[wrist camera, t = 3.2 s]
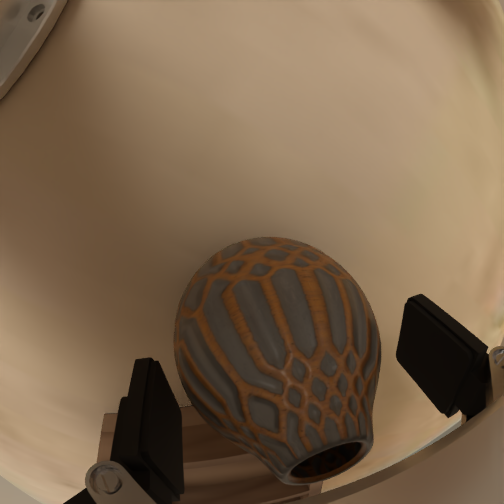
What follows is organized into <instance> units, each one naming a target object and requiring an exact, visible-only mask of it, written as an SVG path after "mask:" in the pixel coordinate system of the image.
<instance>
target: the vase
mask: <svg viewBox="0 0 504 504" xmlns="http://www.w3.org/2000/svg"><path fill="white" fill-rule="evenodd" d="M174 356H175V361H176V366H177V370H178V374H179V377H180V380H181V382H182V385H183V387H184V389H185V391H186V394H187V396H188V398H189V399H190V401H191V403H192V405H193V406H194V408H195V409H196V411H197V412H198V413H199V415H200V416H201V417H202V418H203V419H204V420H205V421H206V422H207V423H208V424H209V425H210V426H211V427H212V428H213V429H214V430H215V431H217V432H218V433H219V434H221V435H222V436H223V437H225V438H226V439H228V440H229V441H231V442H232V443H234V444H235V445H237V446H238V447H240V448H242V449H243V450H245V451H247V452H248V453H250V454H251V455H253V456H255V457H256V458H257V459H258V460H260V461H261V462H262V463H263V464H264V465H265V466H266V467H267V468H268V469H269V470H270V471H271V472H272V473H273V474H274V475H275V476H276V477H277V478H278V479H279V480H280V481H281V482H283V483H285V484H289V485H307V484H313V483H317V482H321V481H324V480H327V479H330V478H332V477H335V476H337V475H339V474H341V473H343V472H345V471H347V470H348V469H350V468H351V467H353V466H354V465H356V464H357V463H358V462H360V461H361V460H362V459H363V458H364V457H365V456H366V455H367V454H368V453H369V451H370V450H371V448H372V446H373V440H374V439H373V423H372V411H373V403H374V399H375V394H376V389H377V384H378V378H379V372H380V364H381V340H380V334H379V330H378V326H377V322H376V319H375V316H374V314H373V311H372V309H371V306H370V304H369V302H368V300H367V298H366V296H365V294H364V293H363V291H362V290H361V288H360V287H359V285H358V284H357V282H356V281H355V280H354V279H353V277H352V276H351V275H350V274H349V273H348V272H347V271H346V270H345V269H344V268H343V267H342V266H341V265H339V264H338V263H337V262H336V261H334V260H333V259H332V258H330V257H329V256H327V255H326V254H324V253H323V252H321V251H320V250H318V249H316V248H314V247H312V246H310V245H307V244H305V243H302V242H298V241H295V240H291V239H286V238H277V237H261V238H253V239H248V240H244V241H241V242H238V243H235V244H233V245H230V246H228V247H226V248H225V249H223V250H221V251H219V252H218V253H216V254H215V255H214V256H212V257H211V258H210V259H209V260H208V261H206V262H205V263H204V264H203V265H202V266H201V268H200V269H199V270H198V271H197V272H196V273H195V275H194V276H193V278H192V279H191V280H190V282H189V284H188V285H187V287H186V289H185V291H184V293H183V296H182V298H181V300H180V303H179V306H178V310H177V315H176V320H175V328H174Z"/></svg>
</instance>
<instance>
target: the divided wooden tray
mask: <svg viewBox="0 0 504 504" xmlns="http://www.w3.org/2000/svg"><path fill="white" fill-rule="evenodd" d="M180 410H181V413H182V442H183V470H184V488H185V491H184V494H180V501H176V502H172V504H284V503H289V502H293V501H296V500H300V499H304V498H307V497H311V496H314V495H318V494H320V493H321V488H322V484H323V481H321V482H317V483H313V484H307V485H289V484H285V483H283V482H281V481H280V480H279V479H278V478H277V477H276V476H275V475H274V474H273V473H272V472H271V471H270V470H269V469H268V468H267V467H266V466H265V465H264V464H263V463H262V462H261V461H260V460H258V459H257V458H256V457H255V456H253V455H251V454H250V453H248V452H247V451H245V450H243V449H242V448H240V447H238V446H237V445H235V444H234V443H232V442H231V441H229V440H228V439H226V438H225V437H223V436H222V435H221V434H219V433H218V432H217V431H215V430H214V429H213V428H212V427H211V426H210V425H209V424H208V423H207V422H206V421H205V420H204V419H203V418H202V417H201V416H200V415H199V413H198V412H197V411H196V409H195V408H194V406H189V407H182V408H180ZM117 415H118V413H117V414H104V420H103V425H102V431H101V437H100V444H99V450H98V458H97V463H98V462H100V461H110V455H111V449H112V443H113V437H114V431H115V426H116V420H117Z"/></svg>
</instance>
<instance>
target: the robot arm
mask: <svg viewBox="0 0 504 504" xmlns="http://www.w3.org/2000/svg"><path fill="white" fill-rule="evenodd" d="M66 3H67V0H0V100H1V99H2V98H3V97H4V96H5V95H6V93H7V92H8V91H9V89H10V88H11V87H12V86H13V84H14V83H15V82H16V81H17V79H18V78H19V77H20V76H21V75H22V73H23V72H24V70H25V69H26V67H27V66H28V64H29V63H30V62H31V60H32V59H33V57H34V56H35V55H36V53H37V52H38V51H39V49H40V47H41V46H42V44H43V42H44V41H45V39H46V38H47V36H48V34H49V33H50V31H51V30H52V28H53V27H54V25H55V23H56V21H57V19H58V17H59V15H60V14H61V12H62V10H63V8H64V6H65V4H66ZM487 349H488V346H486V345H485V344H484V343H483V342H482V341H481V340H479V339H478V338H477V337H476V336H475V335H473V334H472V333H471V332H470V331H469V330H467V329H466V328H465V327H464V326H463V325H461V324H460V323H459V322H458V321H456V320H455V319H454V318H453V317H451V316H450V315H449V314H448V313H446V312H445V311H444V310H443V309H441V308H440V307H439V306H437V305H436V304H435V303H434V302H432V301H431V300H430V299H428V298H427V297H426V296H424V295H423V294H418V295H416V296H413V297H410V298H408V300H407V303H406V304H405V306H404V313H403V319H402V325H401V330H400V336H399V341H398V346H397V351H396V358H397V361H398V362H399V363H400V364H401V366H402V367H403V368H404V369H405V370H406V372H407V373H408V374H409V375H410V376H411V377H412V379H413V380H414V381H415V382H416V383H417V385H418V386H419V387H420V388H421V389H422V391H423V392H424V393H425V394H426V396H427V397H428V398H429V399H430V400H431V402H432V403H433V404H434V405H435V407H436V408H437V409H438V410H439V411H440V412H441V413H442V414H445V415H446V416H447V417H448V418H449V417H451V416H453V415H454V414H456V413H457V412H458V411H459V410H460V411H461V412H462V418H461V426H460V427H459V428H457V429H455V430H454V431H452V432H451V433H449V434H448V435H446V436H445V437H443V438H441V439H440V440H438V441H436V442H435V443H433V444H432V445H430V446H428V447H426V448H424V449H423V450H421V451H419V452H417V453H415V454H414V455H412V456H410V457H408V458H406V459H404V460H402V461H400V462H398V463H396V464H394V465H392V466H390V467H388V468H386V469H383V470H381V471H379V472H377V473H374V474H372V475H370V476H367V477H365V478H362V479H360V480H357V481H355V482H352V483H350V484H347V485H344V486H342V487H339V488H336V489H333V490H330V491H327V492H324V493H321V494H318V495H314V496H311V497H307V498H304V499H300V500H296V501H293V502H289V503H284V504H504V347H503V346H497V347H495V348H493V349H492V350H491V351H490V353H489V354H487V353H486V352H487ZM85 485H86V488H85V489H84V490H82V491H81V492H79V493H78V494H77V495H75V496H74V497H72V498H71V499H69V500H68V501H66V502H65V503H63V504H172V502H176V501H180V494H184V491H185V488H184V470H183V442H182V413H181V410H180V407H179V405H178V403H177V401H176V399H175V397H174V395H173V392H172V390H171V388H170V386H169V384H168V381H167V379H166V377H165V375H164V372H163V370H162V368H161V365H160V363H159V361H154V360H153V359H152V358H151V357H150V358H142V359H136V360H135V363H134V368H133V373H132V377H131V382H130V387H129V392H128V396H127V397H122V398H121V401H120V405H119V410H118V415H117V420H116V426H115V431H114V437H113V443H112V449H111V455H110V461H100V462H98V463H96V464H94V465H93V466H92V467H91V468H90V469H89V470H88V472H87V473H86V477H85Z"/></svg>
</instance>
